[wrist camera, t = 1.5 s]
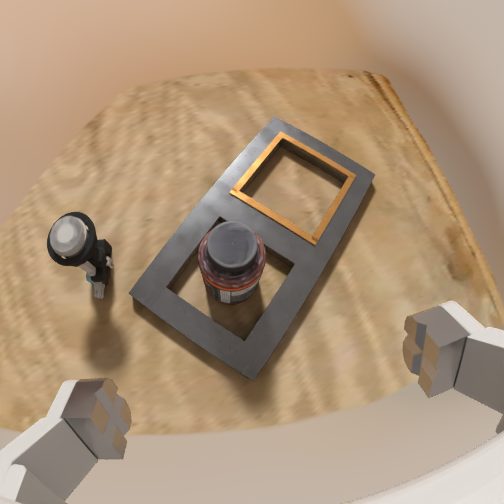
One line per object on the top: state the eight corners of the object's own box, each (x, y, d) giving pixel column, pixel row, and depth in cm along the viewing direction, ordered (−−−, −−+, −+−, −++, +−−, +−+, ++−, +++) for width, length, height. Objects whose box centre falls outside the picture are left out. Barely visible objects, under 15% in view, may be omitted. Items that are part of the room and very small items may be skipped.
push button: (122, 298, 34) (88, 273, 25) (81, 300, 34) (38, 277, 24) (122, 243, 36) (92, 203, 27) (83, 247, 36) (46, 211, 26)
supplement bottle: (198, 260, 36) (187, 217, 26) (249, 248, 37) (258, 200, 27) (211, 311, 35) (203, 287, 24) (264, 297, 35) (280, 268, 25)
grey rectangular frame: (132, 296, 34) (128, 293, 33) (272, 123, 44) (274, 115, 42) (252, 380, 32) (253, 381, 31) (371, 180, 42) (375, 173, 40)
